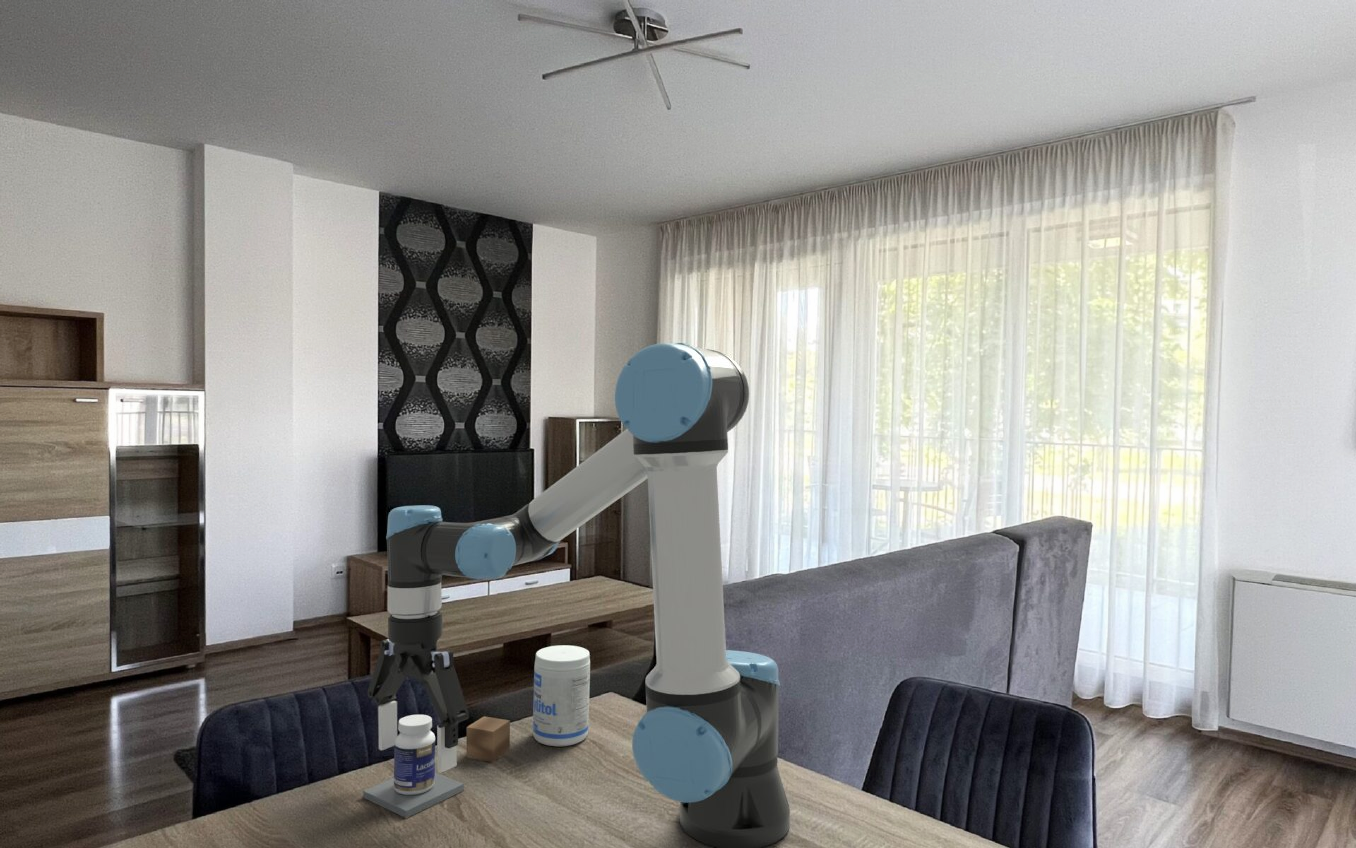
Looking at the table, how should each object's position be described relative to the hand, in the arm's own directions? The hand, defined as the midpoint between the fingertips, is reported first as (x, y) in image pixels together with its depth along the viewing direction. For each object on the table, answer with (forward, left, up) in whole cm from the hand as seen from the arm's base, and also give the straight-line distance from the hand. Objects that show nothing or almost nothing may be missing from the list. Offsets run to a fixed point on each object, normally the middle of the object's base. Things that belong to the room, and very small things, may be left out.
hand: (416, 757), depth 117 cm
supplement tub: (-3, -28, -6) cm, 29 cm away
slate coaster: (0, 0, -5) cm, 5 cm away
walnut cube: (+2, -16, -6) cm, 17 cm away
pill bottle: (0, 0, -5) cm, 5 cm away
